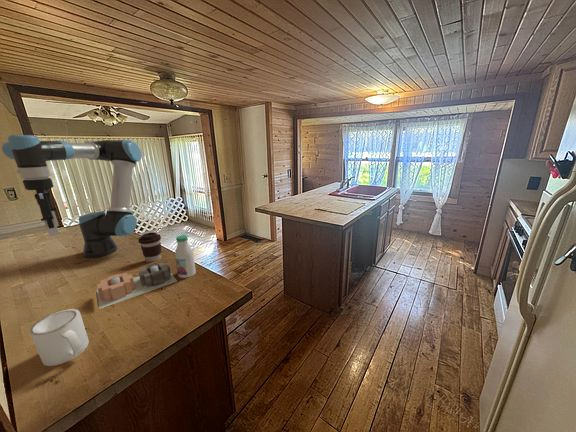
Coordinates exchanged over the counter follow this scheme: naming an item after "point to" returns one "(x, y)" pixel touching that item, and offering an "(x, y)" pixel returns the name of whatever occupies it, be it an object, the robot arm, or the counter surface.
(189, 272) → the milk bottle
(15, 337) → the counter surface
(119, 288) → the gear
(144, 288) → the board
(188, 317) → the counter surface
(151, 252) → the coffee cup
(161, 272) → the gear
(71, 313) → the mug
